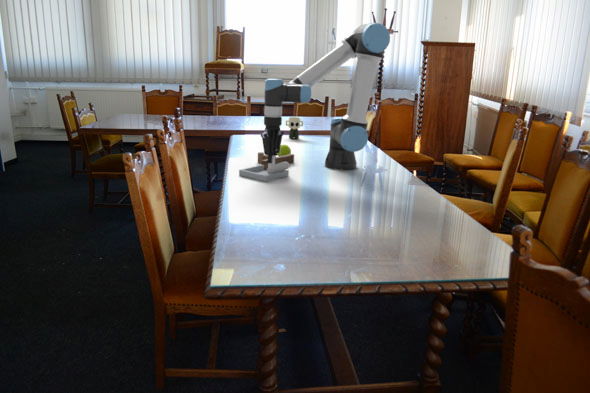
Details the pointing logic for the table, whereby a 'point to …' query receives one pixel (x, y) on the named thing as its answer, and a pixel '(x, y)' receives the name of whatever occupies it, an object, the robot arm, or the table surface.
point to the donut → (278, 167)
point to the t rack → (264, 159)
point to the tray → (261, 173)
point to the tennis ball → (284, 150)
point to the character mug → (294, 126)
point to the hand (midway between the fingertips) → (271, 169)
